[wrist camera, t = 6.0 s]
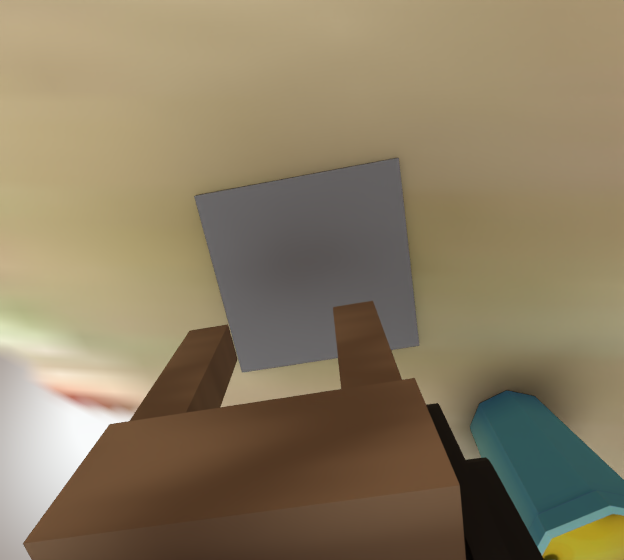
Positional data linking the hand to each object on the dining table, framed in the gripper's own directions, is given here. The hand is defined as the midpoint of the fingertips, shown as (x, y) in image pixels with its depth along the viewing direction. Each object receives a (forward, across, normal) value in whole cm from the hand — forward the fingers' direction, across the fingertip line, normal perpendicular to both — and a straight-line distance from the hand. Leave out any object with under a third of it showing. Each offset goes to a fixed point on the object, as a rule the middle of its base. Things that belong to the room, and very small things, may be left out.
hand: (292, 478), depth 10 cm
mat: (+17, 0, 0) cm, 17 cm away
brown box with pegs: (+3, 0, 0) cm, 3 cm away
